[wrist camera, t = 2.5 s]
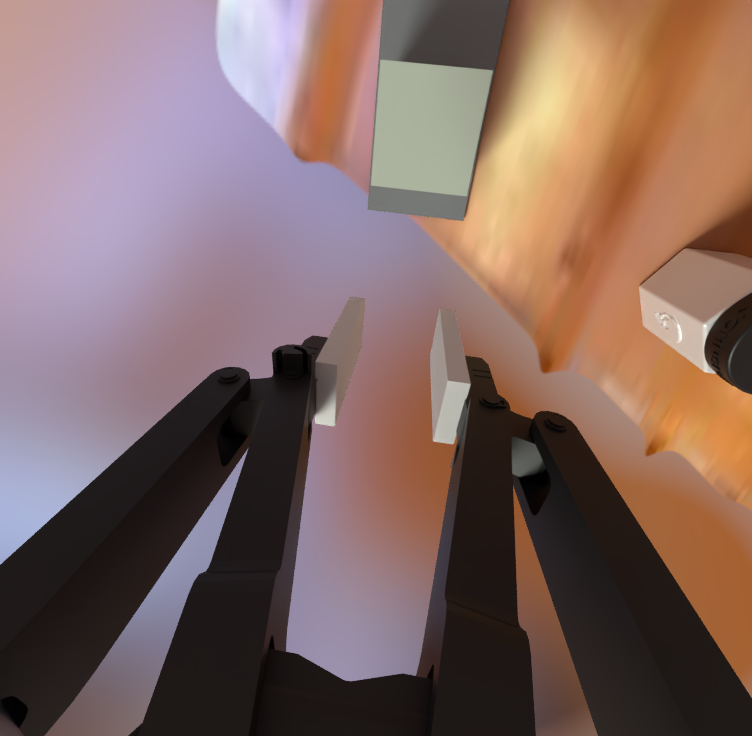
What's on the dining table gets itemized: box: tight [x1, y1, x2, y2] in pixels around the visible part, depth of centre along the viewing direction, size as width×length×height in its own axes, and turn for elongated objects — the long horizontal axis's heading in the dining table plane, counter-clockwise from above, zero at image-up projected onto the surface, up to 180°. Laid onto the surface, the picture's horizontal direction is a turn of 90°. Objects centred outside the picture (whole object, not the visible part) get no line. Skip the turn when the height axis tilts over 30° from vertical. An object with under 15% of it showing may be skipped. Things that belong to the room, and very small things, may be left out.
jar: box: [639, 248, 752, 394], centre depth 28 cm, size 9×8×12 cm
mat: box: [368, 0, 510, 221], centre depth 25 cm, size 28×9×1 cm, turn 175°
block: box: [371, 60, 493, 196], centre depth 26 cm, size 7×7×7 cm
